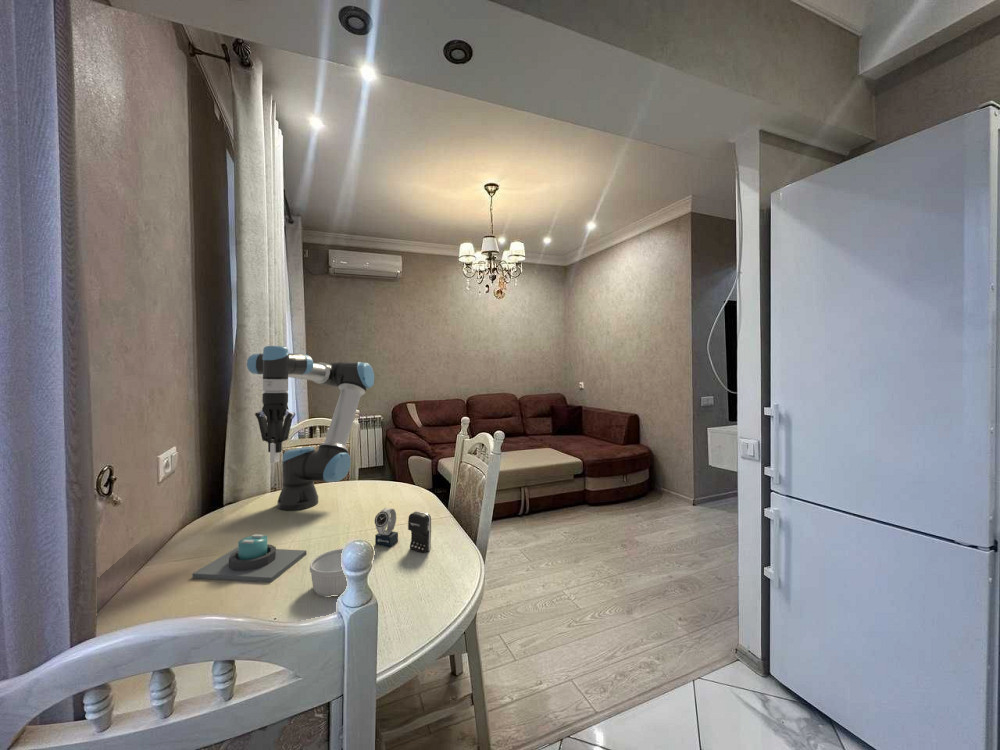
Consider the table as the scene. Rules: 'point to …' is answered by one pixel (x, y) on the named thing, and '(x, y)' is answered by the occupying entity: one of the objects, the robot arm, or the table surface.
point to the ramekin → (328, 574)
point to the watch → (381, 522)
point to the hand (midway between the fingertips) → (274, 462)
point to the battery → (420, 531)
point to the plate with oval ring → (251, 566)
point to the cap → (252, 547)
